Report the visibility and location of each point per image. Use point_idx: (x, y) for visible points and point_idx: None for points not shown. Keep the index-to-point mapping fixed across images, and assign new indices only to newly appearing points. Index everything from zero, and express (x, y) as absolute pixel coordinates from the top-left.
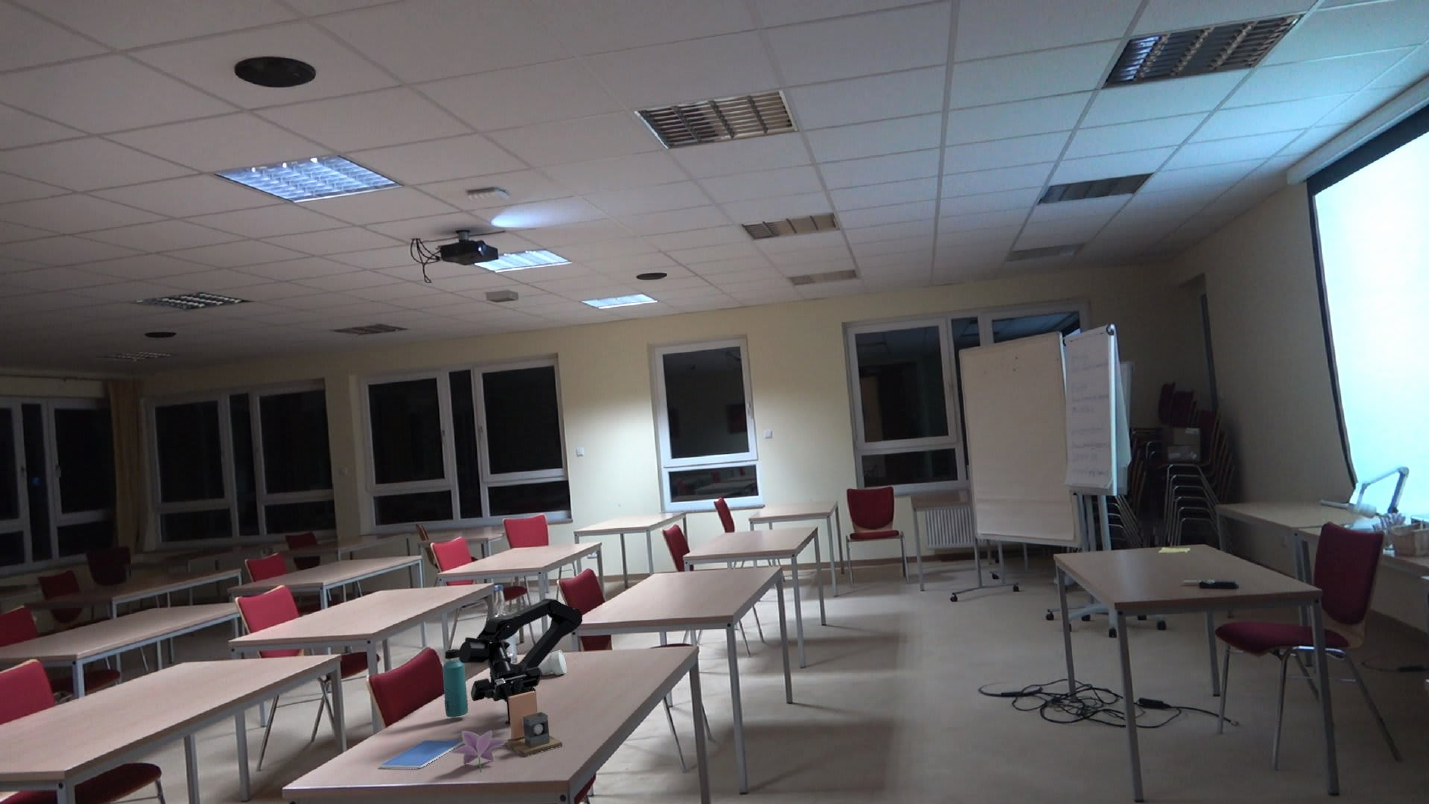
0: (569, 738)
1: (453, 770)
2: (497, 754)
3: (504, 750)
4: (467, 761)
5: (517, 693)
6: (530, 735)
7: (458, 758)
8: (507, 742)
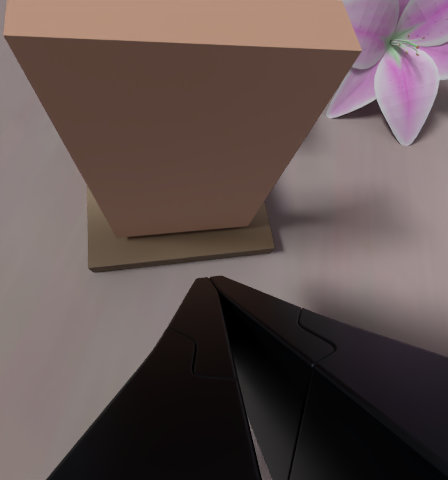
0: (20, 127)
1: (434, 125)
2: (307, 160)
3: (280, 182)
4: (406, 130)
5: (183, 334)
6: None
7: (431, 218)
8: (266, 211)
